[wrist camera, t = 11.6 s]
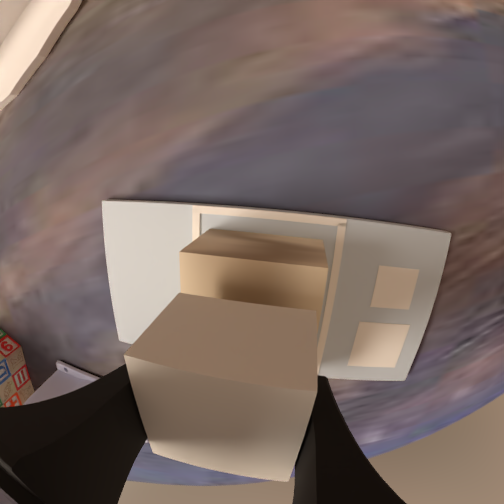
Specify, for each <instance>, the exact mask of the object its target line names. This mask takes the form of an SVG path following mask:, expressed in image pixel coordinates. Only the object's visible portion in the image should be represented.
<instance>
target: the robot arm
mask: <svg viewBox="0 0 504 504" xmlns="http://www.w3.org/2000/svg"><path fill="white" fill-rule="evenodd" d="M56 366H57V369H58V370H57V371H56V372H55V373H54V374H53V375H52V376H51V377H49V378H48V379H47V380H46V381H45V382H44V383H43V384H42V385H41V386H40V387H39V388H38V389H37V390H36V391H35V392H34V393H33V394H32V395H31V396H30V397H29V398H28V399H27V400H26V402H25V403H24V404H23V405H20V406H12V407H0V504H118V501H119V498H120V495H121V492H122V490H123V487H124V485H125V482H126V479H127V477H128V475H129V472H130V470H131V468H132V465H133V463H134V461H135V459H136V457H137V455H138V453H139V451H140V450H141V448H142V446H143V445H144V443H147V442H148V441H149V440H148V437H147V434H146V431H145V428H144V425H143V422H142V419H141V416H140V413H139V410H138V406H137V403H136V400H135V396H134V393H133V389H132V385H131V382H130V378H129V374H128V370H127V366H126V364H124V365H123V366H121V367H119V368H118V369H116V370H114V371H112V372H111V373H109V374H107V375H105V376H103V377H101V378H99V377H97V376H94V375H92V374H89V373H87V372H84V371H82V370H79V369H77V368H75V367H73V366H70V365H68V364H66V363H64V362H61V361H57V362H56ZM293 504H406V503H405V502H404V501H403V500H402V499H401V498H400V497H399V496H398V495H397V494H396V493H395V492H394V491H393V490H392V489H391V488H390V487H389V485H388V484H387V483H386V482H385V481H384V480H383V479H382V478H381V477H380V475H379V474H378V473H377V471H376V470H375V469H374V468H373V466H372V465H371V464H370V462H369V461H368V459H367V458H366V456H365V455H364V454H363V452H362V450H361V449H360V447H359V446H358V444H357V442H356V441H355V439H354V437H353V435H352V434H351V432H350V430H349V428H348V426H347V424H346V422H345V420H344V418H343V416H342V414H341V412H340V410H339V408H338V405H337V403H336V401H335V398H334V396H333V393H332V391H331V388H330V385H329V382H328V379H327V377H326V376H320V375H317V395H316V398H315V402H314V405H313V409H312V412H311V415H310V419H309V422H308V425H307V428H306V432H305V435H304V438H303V441H302V444H301V447H300V450H299V453H298V456H297V459H296V462H295V488H294V498H293Z"/></svg>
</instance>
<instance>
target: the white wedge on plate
mask: <svg viewBox="0 0 504 504" xmlns="http://www.w3.org/2000/svg"><path fill="white" fill-rule="evenodd" d="M81 2H82V0H0V111H1V110H2V109H3V108H4V107H5V106H6V105H7V104H9V103H10V102H11V101H12V100H13V99H14V98H15V97H16V96H18V94H19V93H20V92H21V90H22V89H23V87H24V86H25V85H26V83H27V82H28V80H29V79H30V78H31V76H32V75H33V74H34V73H35V71H36V70H37V69H38V67H39V66H40V65H41V64H42V62H43V61H44V60H45V59H46V58H47V56H48V54H49V53H50V51H51V49H52V48H53V46H54V44H55V43H56V41H57V39H58V38H59V36H60V35H61V33H62V32H63V30H64V29H65V27H66V26H67V24H68V23H69V21H70V20H71V19H72V17H73V16H74V14H75V13H76V12H77V10H78V8H79V6H80V4H81Z"/></svg>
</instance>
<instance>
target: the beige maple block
mask: <svg viewBox="0 0 504 504" xmlns="http://www.w3.org/2000/svg"><path fill="white" fill-rule="evenodd" d="M124 358H125V362H126V366H127V370H128V374H129V378H130V382H131V385H132V389H133V393H134V396H135V400H136V403H137V406H138V410H139V413H140V416H141V419H142V422H143V425H144V428H145V431H146V434H147V437H148V440H149V443H150V445H151V448H152V451H153V453H155V454H158V455H161V456H164V457H167V458H171V459H174V460H177V461H181V462H184V463H188V464H191V465H195V466H199V467H203V468H207V469H212V470H216V471H221V472H225V473H230V474H236V475H241V476H247V477H253V478H260V479H268V480H276V481H285V482H288V481H289V478H290V475H291V473H292V470H293V467H294V464H295V462H296V459H297V456H298V453H299V450H300V447H301V444H302V441H303V438H304V435H305V432H306V428H307V425H308V422H309V419H310V415H311V412H312V409H313V405H314V402H315V398H316V395H317V320H316V311H315V310H305V309H296V308H287V307H279V306H270V305H262V304H254V303H247V302H239V301H232V300H225V299H218V298H211V297H204V296H198V295H191V294H185V293H178V294H177V295H176V297H175V298H174V299H173V300H172V301H171V302H170V303H169V304H168V305H167V307H166V308H165V309H164V310H163V311H162V312H161V313H160V314H159V315H158V316H157V318H156V319H155V320H154V321H153V322H152V323H151V324H150V325H149V327H148V328H147V329H146V330H145V331H144V332H143V333H142V334H141V336H140V337H139V338H138V339H137V340H136V341H135V342H134V343H133V345H132V346H131V347H130V348H129V349H128V350H127V351H126V352H125V354H124Z"/></svg>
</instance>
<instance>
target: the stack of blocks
mask: <svg viewBox="0 0 504 504" xmlns="http://www.w3.org/2000/svg"><path fill="white" fill-rule="evenodd" d="M33 393H34V389H33V386H32V383H31V380H30V376H29V373H28V369H27V366H26V363H25V359H24V355H23V351H22V347H21V346H20V345H19V344H18V343H17V342H16V341H14V340H13V339H12V338H11V337H10V336H8V335H7V334H6V333H5V332H4V331H2V330H1V329H0V407H12V406H20V405H23V404H24V403H25V402H26V400H27V399H28V398H29V397H30V396H31V395H32V394H33Z"/></svg>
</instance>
